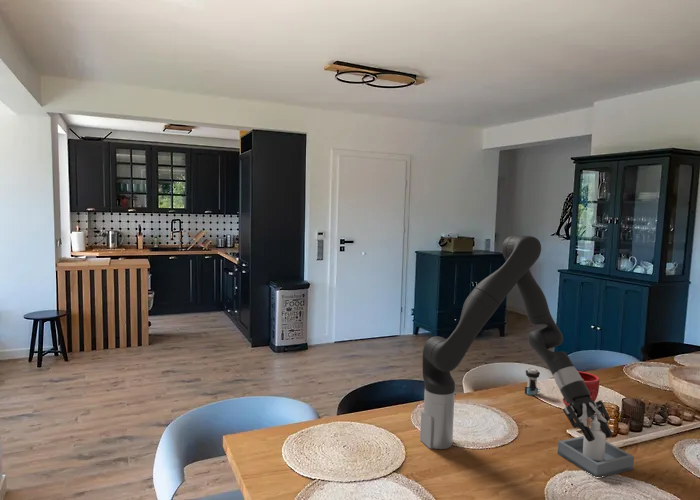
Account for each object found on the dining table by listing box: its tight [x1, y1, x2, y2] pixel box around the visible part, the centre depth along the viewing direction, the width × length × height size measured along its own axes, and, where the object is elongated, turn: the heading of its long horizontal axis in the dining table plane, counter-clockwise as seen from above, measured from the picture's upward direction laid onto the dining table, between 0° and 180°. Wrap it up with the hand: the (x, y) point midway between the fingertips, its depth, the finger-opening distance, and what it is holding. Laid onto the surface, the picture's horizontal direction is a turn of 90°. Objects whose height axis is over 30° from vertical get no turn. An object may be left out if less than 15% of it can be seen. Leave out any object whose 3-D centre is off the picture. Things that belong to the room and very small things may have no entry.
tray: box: [557, 435, 635, 478], centre depth 139 cm, size 14×14×4 cm
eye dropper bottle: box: [583, 417, 607, 461], centre depth 139 cm, size 4×6×12 cm
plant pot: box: [562, 370, 600, 407], centre depth 179 cm, size 13×13×12 cm
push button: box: [524, 367, 541, 396], centre depth 190 cm, size 7×5×10 cm
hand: (600, 438), depth 137 cm, fingers open, 6 cm apart
